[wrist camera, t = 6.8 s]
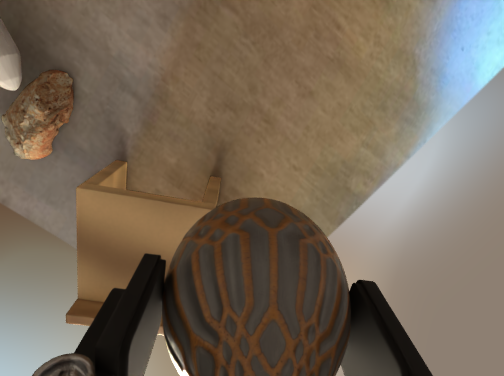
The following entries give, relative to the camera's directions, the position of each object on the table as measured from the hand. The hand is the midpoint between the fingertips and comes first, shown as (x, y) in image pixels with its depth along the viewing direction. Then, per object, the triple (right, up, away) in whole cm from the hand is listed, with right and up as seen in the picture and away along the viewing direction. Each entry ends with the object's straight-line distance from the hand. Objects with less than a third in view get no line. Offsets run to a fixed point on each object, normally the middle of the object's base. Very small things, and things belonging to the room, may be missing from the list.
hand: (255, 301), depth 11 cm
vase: (0, +2, +4) cm, 4 cm away
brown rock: (-20, +11, +18) cm, 30 cm away
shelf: (-10, +1, +23) cm, 25 cm away
